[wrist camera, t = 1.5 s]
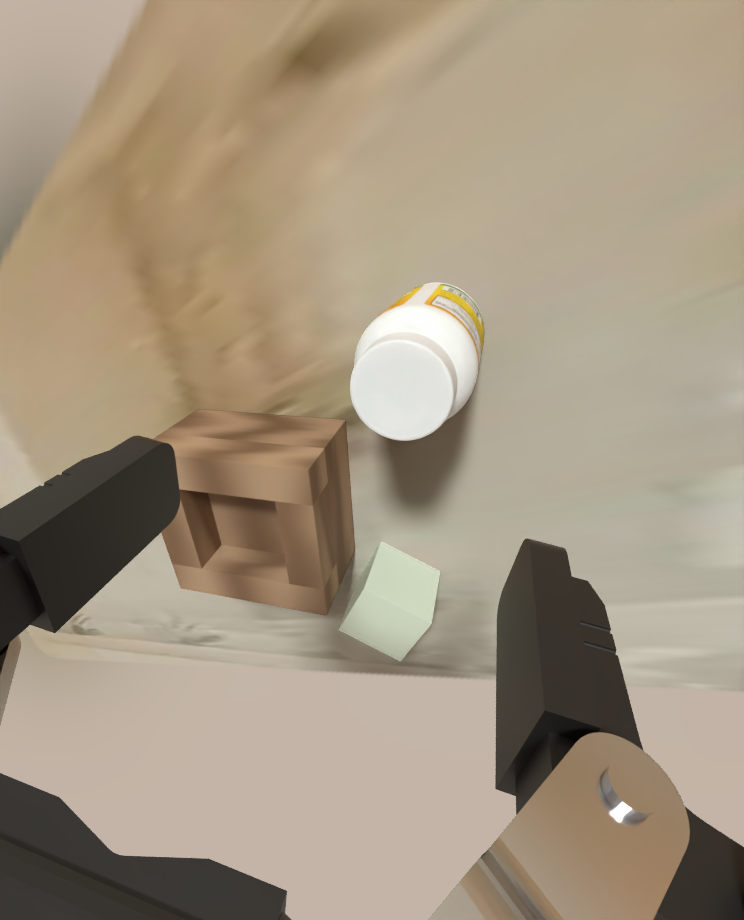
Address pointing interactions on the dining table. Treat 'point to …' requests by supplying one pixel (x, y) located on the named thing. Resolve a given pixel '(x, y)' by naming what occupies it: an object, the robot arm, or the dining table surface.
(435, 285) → the supplement bottle
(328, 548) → the brown open box
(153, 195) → the dining table surface
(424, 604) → the green cube
